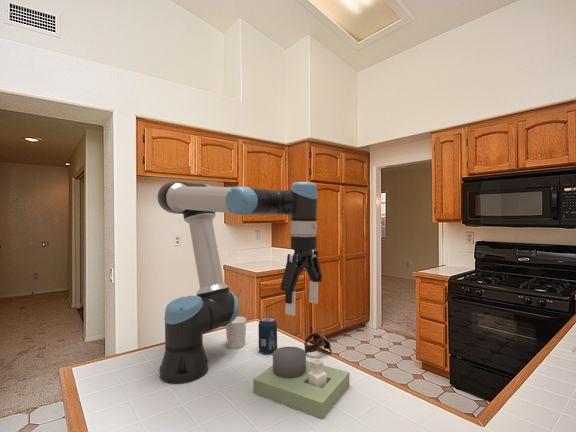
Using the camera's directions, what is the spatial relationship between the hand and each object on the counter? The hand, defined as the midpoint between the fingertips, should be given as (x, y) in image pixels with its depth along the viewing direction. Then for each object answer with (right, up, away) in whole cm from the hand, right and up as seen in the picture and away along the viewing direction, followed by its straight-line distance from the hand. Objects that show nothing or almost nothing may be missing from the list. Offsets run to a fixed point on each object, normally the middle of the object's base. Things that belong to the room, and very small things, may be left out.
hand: (302, 308), depth 92 cm
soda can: (-12, -24, +26) cm, 37 cm away
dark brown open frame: (+7, -24, +26) cm, 36 cm away
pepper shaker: (+4, -24, -3) cm, 24 cm away
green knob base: (0, -24, 0) cm, 24 cm away
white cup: (-25, -24, +32) cm, 47 cm away
